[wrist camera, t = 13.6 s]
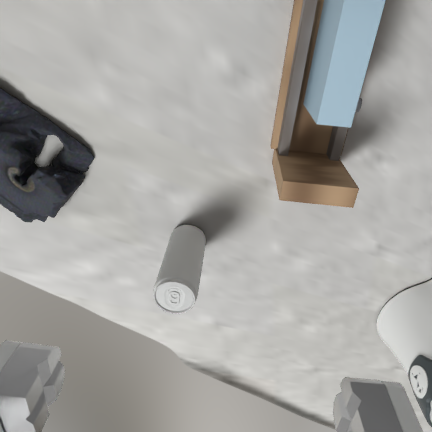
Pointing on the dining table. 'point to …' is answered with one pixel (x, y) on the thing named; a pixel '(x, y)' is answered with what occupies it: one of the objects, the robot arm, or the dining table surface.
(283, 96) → the wooden rack
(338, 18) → the door panel
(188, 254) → the beverage can
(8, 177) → the dark grey flat piece
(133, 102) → the dining table surface
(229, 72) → the dining table surface
